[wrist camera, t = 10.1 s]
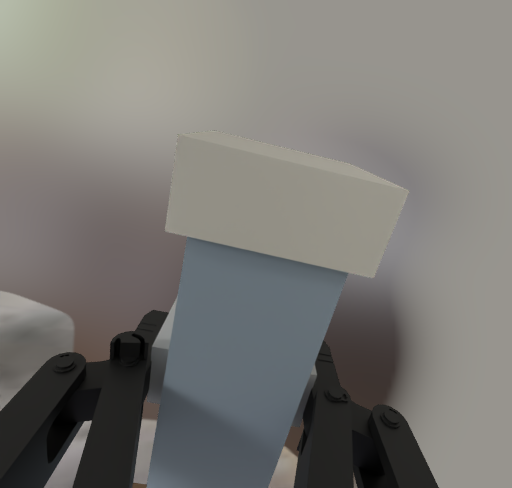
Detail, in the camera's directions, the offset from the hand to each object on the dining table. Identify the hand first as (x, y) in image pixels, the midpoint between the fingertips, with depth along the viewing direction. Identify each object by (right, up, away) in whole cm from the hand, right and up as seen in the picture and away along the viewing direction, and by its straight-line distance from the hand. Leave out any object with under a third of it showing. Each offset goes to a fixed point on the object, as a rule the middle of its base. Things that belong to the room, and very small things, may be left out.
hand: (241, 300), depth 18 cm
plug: (-3, -12, -1) cm, 13 cm away
